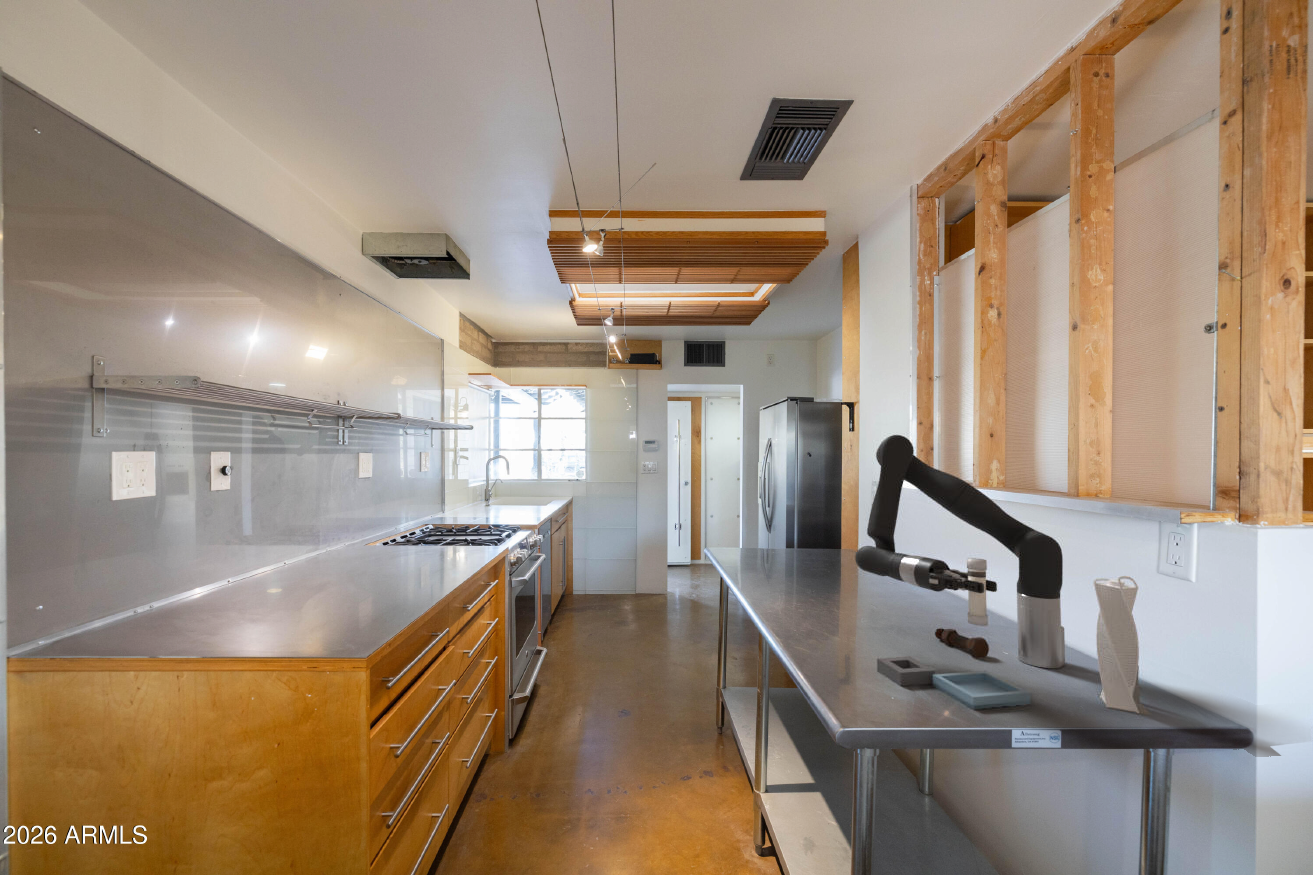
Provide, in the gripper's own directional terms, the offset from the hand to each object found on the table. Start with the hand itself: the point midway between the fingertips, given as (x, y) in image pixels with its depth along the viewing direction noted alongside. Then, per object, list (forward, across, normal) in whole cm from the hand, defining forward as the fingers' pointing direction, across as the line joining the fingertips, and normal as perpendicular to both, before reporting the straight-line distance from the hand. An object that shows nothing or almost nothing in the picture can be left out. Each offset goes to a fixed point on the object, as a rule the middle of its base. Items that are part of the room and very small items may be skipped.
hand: (989, 587), depth 116 cm
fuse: (-3, 0, +8) cm, 9 cm away
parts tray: (-3, 0, +24) cm, 24 cm away
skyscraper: (+11, +24, +24) cm, 36 cm away
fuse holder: (-16, -8, +24) cm, 30 cm away
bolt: (-26, +23, +24) cm, 42 cm away
